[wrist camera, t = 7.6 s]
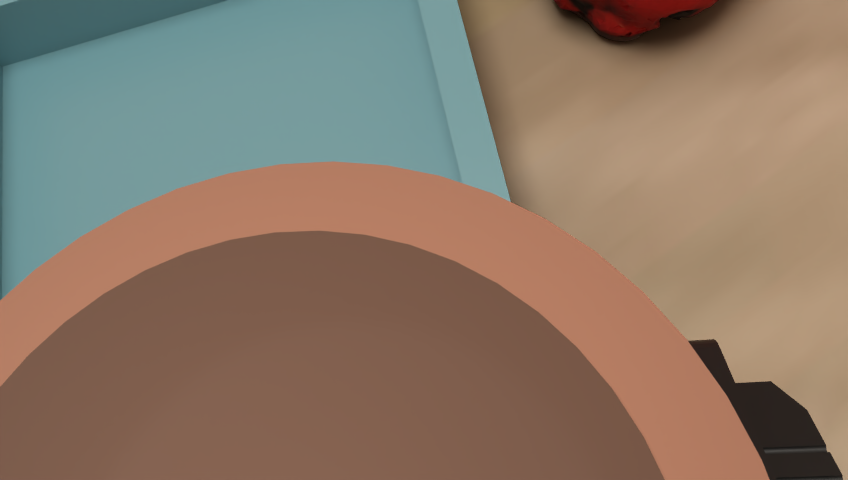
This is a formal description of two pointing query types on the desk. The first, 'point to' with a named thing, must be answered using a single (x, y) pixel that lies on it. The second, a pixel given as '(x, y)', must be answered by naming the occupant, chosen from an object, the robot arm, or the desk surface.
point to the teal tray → (219, 102)
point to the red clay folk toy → (631, 14)
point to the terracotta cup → (349, 344)
